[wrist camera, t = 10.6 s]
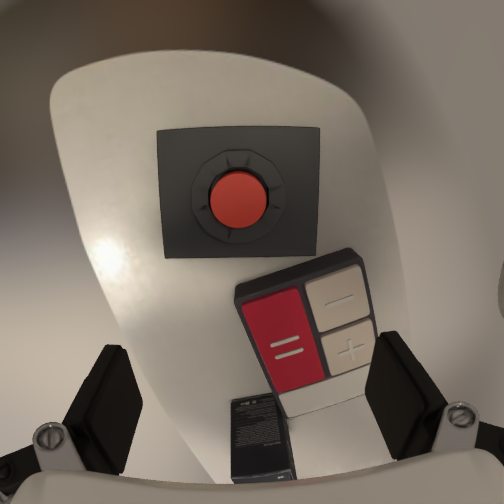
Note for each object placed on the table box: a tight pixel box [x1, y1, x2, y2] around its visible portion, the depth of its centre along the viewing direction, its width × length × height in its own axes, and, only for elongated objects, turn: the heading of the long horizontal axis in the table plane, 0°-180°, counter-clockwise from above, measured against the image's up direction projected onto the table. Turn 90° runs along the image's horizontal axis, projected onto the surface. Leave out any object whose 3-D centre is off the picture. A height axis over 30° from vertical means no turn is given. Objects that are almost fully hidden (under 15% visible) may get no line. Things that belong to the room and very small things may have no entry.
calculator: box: [234, 248, 378, 419], centre depth 28 cm, size 11×4×15 cm
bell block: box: [157, 126, 320, 259], centre depth 23 cm, size 12×10×4 cm
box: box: [231, 394, 297, 484], centre depth 29 cm, size 8×6×11 cm
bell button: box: [210, 171, 266, 228], centre depth 21 cm, size 4×4×2 cm
